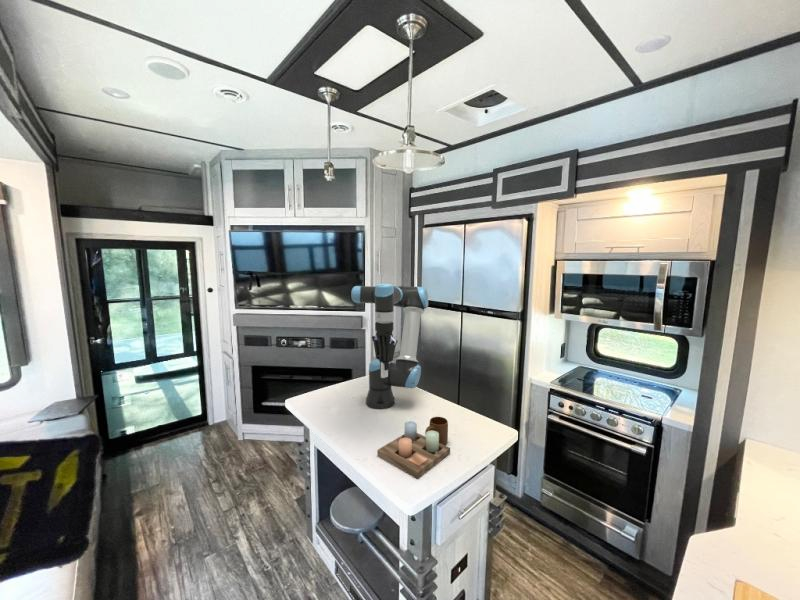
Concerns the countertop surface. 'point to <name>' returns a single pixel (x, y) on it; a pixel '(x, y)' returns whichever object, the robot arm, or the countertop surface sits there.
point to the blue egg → (410, 430)
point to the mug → (439, 428)
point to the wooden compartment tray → (413, 456)
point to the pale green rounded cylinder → (432, 441)
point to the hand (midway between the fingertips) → (384, 376)
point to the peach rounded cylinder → (405, 447)
